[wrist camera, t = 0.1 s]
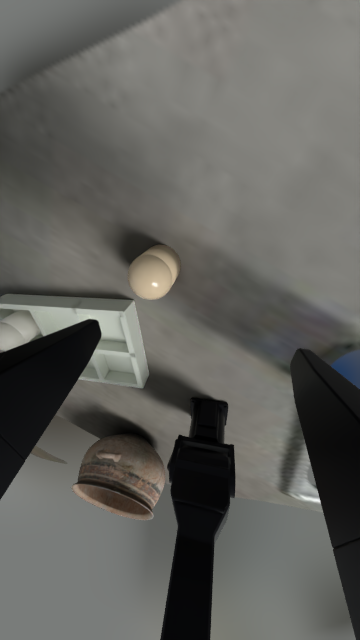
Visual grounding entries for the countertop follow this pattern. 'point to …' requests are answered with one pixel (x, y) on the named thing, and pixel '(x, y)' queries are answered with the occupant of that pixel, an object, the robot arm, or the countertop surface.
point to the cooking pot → (122, 476)
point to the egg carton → (60, 312)
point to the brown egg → (154, 272)
